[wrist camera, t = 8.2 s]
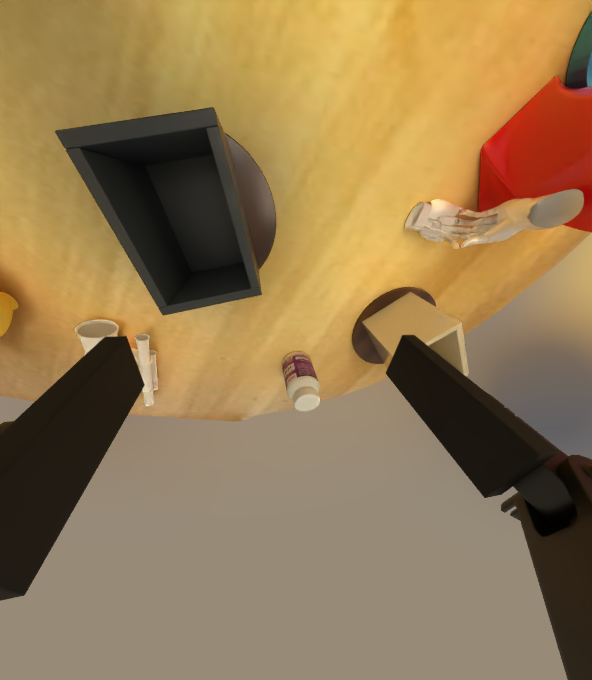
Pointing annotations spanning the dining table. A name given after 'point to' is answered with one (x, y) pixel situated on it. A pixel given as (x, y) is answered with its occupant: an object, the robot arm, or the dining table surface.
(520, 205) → the plaster hands
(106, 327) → the toy telescope
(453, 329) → the cream bin
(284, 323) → the dining table surface
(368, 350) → the back turntable
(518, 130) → the vase
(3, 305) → the teapot
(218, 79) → the dining table surface
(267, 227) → the front turntable
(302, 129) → the dining table surface
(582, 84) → the figurine
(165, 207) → the slate bin
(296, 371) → the pill bottle
